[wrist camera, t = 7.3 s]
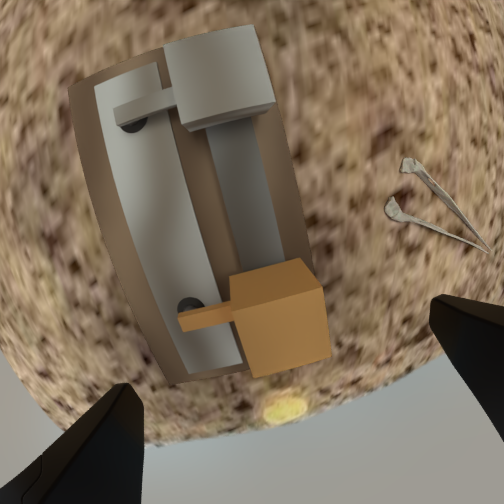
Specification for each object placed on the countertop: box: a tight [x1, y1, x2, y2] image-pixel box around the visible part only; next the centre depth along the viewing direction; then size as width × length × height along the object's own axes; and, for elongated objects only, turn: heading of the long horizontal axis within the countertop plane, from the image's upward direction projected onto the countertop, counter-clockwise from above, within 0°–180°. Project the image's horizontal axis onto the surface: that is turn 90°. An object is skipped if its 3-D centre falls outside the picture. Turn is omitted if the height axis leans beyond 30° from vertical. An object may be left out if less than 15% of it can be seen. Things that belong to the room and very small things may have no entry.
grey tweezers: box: [385, 158, 492, 254], centre depth 20 cm, size 17×5×2 cm, turn 68°
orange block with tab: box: [177, 258, 332, 378], centre depth 15 cm, size 8×4×5 cm, turn 104°
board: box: [68, 24, 315, 385], centre depth 15 cm, size 12×22×5 cm, turn 14°
